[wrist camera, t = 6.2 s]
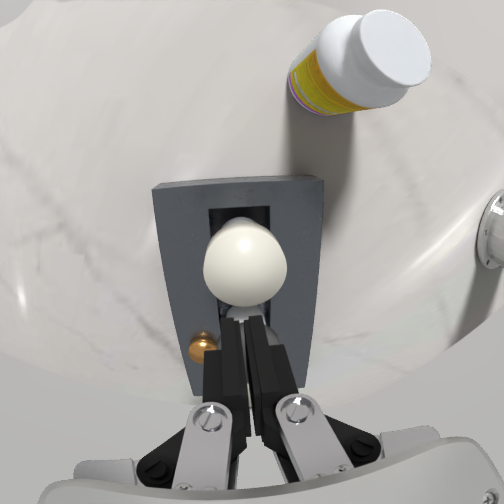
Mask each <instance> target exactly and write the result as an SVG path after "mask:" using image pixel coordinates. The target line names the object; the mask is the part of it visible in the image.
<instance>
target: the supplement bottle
mask: <svg viewBox="0 0 504 504" xmlns="http://www.w3.org/2000/svg"><path fill="white" fill-rule="evenodd" d="M430 69H431V55H430V51H429V48H428V45H427V43H426V41H425V39H424V37H423V36H422V34H421V33H420V32H419V30H418V29H417V28H416V27H415V26H414V25H413V24H412V23H411V22H410V21H409V20H407V19H406V18H405V17H403V16H401V15H400V14H398V13H395V12H392V11H388V10H374V11H371V12H369V13H368V14H366V15H365V16H361V15H348V16H343V17H340V18H337V19H335V20H333V21H332V22H330V23H329V24H328V25H327V26H326V27H325V28H324V29H323V30H322V31H321V32H320V33H319V34H318V35H317V36H316V37H315V38H314V39H313V40H312V41H311V42H310V43H309V44H308V45H307V46H306V48H305V49H304V50H303V51H302V52H301V53H300V54H299V55H298V56H297V57H296V58H295V60H294V61H293V62H292V64H291V66H290V69H289V72H288V83H289V88H290V90H291V93H292V95H293V96H294V98H295V99H296V100H297V102H298V103H299V104H300V105H301V106H303V107H304V108H305V109H307V110H309V111H311V112H313V113H315V114H319V115H325V116H332V115H338V114H343V113H349V112H355V111H361V110H367V109H375V108H382V107H387V106H390V105H392V104H394V103H396V102H398V101H399V100H400V99H401V98H402V97H403V96H404V95H405V94H406V93H407V91H408V89H409V87H412V86H416V85H419V84H421V83H422V82H424V81H425V80H426V79H427V77H428V75H429V73H430Z"/></svg>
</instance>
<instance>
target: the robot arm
mask: <svg viewBox="0 0 504 504" xmlns="http://www.w3.org/2000/svg"><path fill="white" fill-rule="evenodd" d="M477 250H478V256H479V260H480V262H481V264H482V265H483V266H485V267H486V268H488V269H496V268H498V267H500V266H502V267H504V190H501V191H499V192H498V193H497V194H496V195H495V196H494V197H493V198H492V199H491V201H490V202H489V204H488V206H487V208H486V210H485V212H484V214H483V217H482V220H481V223H480V228H479V232H478V240H477ZM244 337H245V353H246V367H247V376H248V383H249V391H250V398H251V405H252V412H253V419H254V427H255V434H256V436H260V435H261V438H262V442H264V446H266V447H268V448H269V449H271V450H273V452H274V456H275V458H276V461H277V463H278V466H279V468H280V470H281V473H282V476H283V478H284V481H285V483H286V484H283V485H276V486H270V487H260V488H251V489H236V486H237V475H238V464H239V454H240V453H242V452H243V451H244V450H245V449H246V448H247V443H246V437H250V436H251V425H250V410H249V397H248V387H247V380H246V372H245V364H244V355H243V347H242V339H241V330H240V322H239V320H236V321H234V317H229V318H221V350H205V351H204V365H203V402H202V404H199V405H197V406H196V407H194V408H193V409H192V411H191V412H190V414H189V416H188V420H187V424H186V427H185V428H183V429H182V430H181V431H179V432H178V433H177V434H175V435H174V436H172V437H171V438H170V439H168V440H167V441H166V442H164V443H163V444H161V445H160V446H159V447H157V448H156V449H154V450H153V451H151V452H150V453H149V454H147V455H146V456H144V457H143V458H142V459H141V460H134V461H133V460H132V459H120V460H87V461H82V462H80V463H79V464H77V466H76V467H75V469H74V479H69V480H61V481H58V482H54V483H52V484H50V485H48V486H47V487H46V488H45V490H44V491H43V492H42V494H41V496H40V499H39V501H38V504H504V482H503V480H502V478H501V476H500V474H499V472H498V471H497V469H496V467H495V465H494V464H493V462H492V460H491V459H490V457H489V456H488V454H487V453H486V452H485V451H484V449H483V448H482V447H481V446H480V445H479V444H478V443H477V442H476V441H474V440H473V439H470V438H467V437H447V438H441V439H440V435H439V433H438V431H437V430H436V429H434V428H433V427H430V426H421V427H415V428H410V429H404V430H398V431H391V432H383V433H381V434H380V435H375V436H374V435H372V434H370V433H368V432H365V431H362V430H360V429H357V428H355V427H352V426H350V425H347V424H345V423H343V422H340V421H338V420H336V419H333V418H331V417H329V416H327V415H324V414H323V412H322V411H321V409H320V407H319V405H318V403H317V402H316V401H315V400H314V399H313V398H311V397H310V396H307V395H304V394H299V392H298V389H297V386H296V382H295V379H294V376H293V372H292V369H291V366H290V362H289V359H288V356H287V352H286V349H285V346H284V344H278V345H269V343H268V339H267V335H266V330H265V326H264V322H263V318H262V315H254V316H248V320H244Z"/></svg>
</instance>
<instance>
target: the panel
mask: <svg viewBox="0 0 504 504" xmlns="http://www.w3.org/2000/svg"><path fill="white" fill-rule="evenodd" d="M323 184H324V180H322V179H319V178H317V177H315V176H258V177H236V178H219V179H204V180H192V181H181V182H170V183H161V184H159V185H157V186H156V187H154V188H153V189H152V197H153V205H154V213H155V220H156V228H157V234H158V241H159V247H160V253H161V259H162V265H163V271H164V276H165V281H166V286H167V291H168V296H169V301H170V306H171V311H172V315H173V320H174V324H175V328H176V332H177V337H178V341H179V345H180V349H181V353H182V356H183V360H184V364H185V368H186V371H187V375H188V378H189V382H190V385H191V389H192V392H193V395H194V396H203V365H204V351H205V350H217V340H218V338H219V336H220V335H221V318H226V314H227V312H228V310H229V309H230V308H231V307H232V306H234V305H230V304H227V303H225V302H223V301H221V300H220V299H218V298H217V297H216V296H214V294H213V293H212V292H211V291H210V290H209V288H208V286H207V284H206V282H205V279H204V274H203V268H204V260H205V254H206V250H207V246H208V244H209V242H210V240H211V238H212V237H213V236H214V235H215V234H216V233H217V232H218V231H219V230H220V229H221V228H222V226H223V225H224V224H225V223H226V222H227V221H229V220H231V219H233V218H236V217H246V218H249V219H252V220H253V221H255V222H256V223H257V224H259V225H261V226H263V227H265V228H266V229H268V230H269V231H270V232H271V233H272V234H273V235H274V236H275V238H276V239H277V241H278V243H279V245H280V247H281V249H282V251H283V253H284V256H285V259H286V263H287V273H286V278H285V281H284V283H283V285H282V287H281V288H280V289H279V291H278V292H277V293H276V294H275V295H274V296H273V297H271V298H270V299H269V300H267V301H265V302H263V303H261V304H258V305H257V306H259V307H260V308H261V309H262V311H263V314H264V318H265V323H266V325H267V326H269V327H270V328H272V329H273V330H274V331H275V332H276V334H277V336H278V338H279V342H280V344H284V346H285V349H286V352H287V356H288V359H289V362H290V366H291V369H292V372H293V376H294V379H295V382H296V386H297V388H303V387H305V382H306V376H307V369H308V362H309V355H310V348H311V340H312V332H313V324H314V315H315V306H316V296H317V286H318V275H319V262H320V248H321V232H322V213H323Z"/></svg>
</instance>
